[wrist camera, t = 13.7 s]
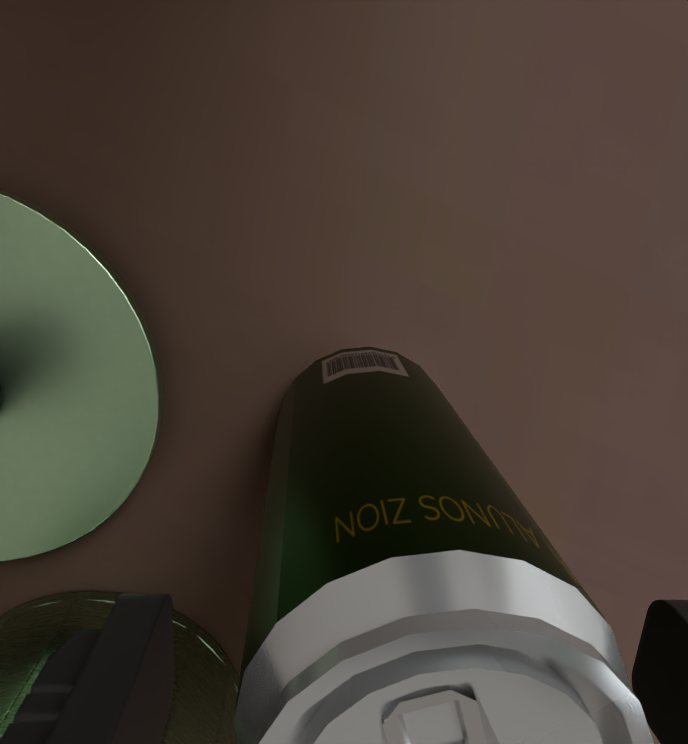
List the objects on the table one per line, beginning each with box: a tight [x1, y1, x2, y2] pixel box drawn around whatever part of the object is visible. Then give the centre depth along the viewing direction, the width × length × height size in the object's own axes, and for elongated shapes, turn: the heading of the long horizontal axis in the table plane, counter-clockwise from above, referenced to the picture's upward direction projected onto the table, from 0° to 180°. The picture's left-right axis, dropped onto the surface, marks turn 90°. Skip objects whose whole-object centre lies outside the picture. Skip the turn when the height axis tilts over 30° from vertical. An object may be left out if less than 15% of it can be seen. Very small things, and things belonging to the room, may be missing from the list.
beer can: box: [233, 347, 654, 744], centre depth 12 cm, size 5×5×12 cm
